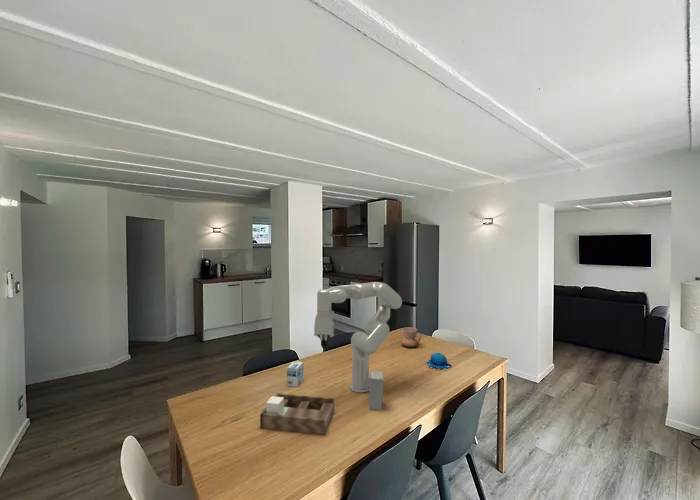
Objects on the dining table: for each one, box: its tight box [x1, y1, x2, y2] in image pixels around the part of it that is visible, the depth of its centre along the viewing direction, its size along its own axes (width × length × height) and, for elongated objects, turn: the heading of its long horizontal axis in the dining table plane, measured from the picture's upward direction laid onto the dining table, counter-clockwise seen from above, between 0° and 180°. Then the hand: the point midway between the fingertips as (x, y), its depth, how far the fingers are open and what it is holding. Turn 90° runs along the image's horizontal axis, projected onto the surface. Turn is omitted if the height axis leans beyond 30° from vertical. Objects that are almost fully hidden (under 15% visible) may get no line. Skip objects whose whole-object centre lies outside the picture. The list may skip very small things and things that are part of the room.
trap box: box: [259, 392, 335, 436], centre depth 136 cm, size 29×19×6 cm, turn 81°
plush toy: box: [425, 352, 452, 370], centre depth 201 cm, size 17×17×8 cm
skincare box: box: [368, 371, 384, 411], centre depth 148 cm, size 8×7×16 cm
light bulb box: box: [286, 360, 305, 388], centre depth 173 cm, size 11×7×11 cm, turn 169°
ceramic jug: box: [400, 326, 421, 348], centre depth 242 cm, size 18×14×14 cm
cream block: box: [265, 395, 284, 415], centre depth 133 cm, size 6×6×6 cm
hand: (323, 347), depth 155 cm, fingers closed
